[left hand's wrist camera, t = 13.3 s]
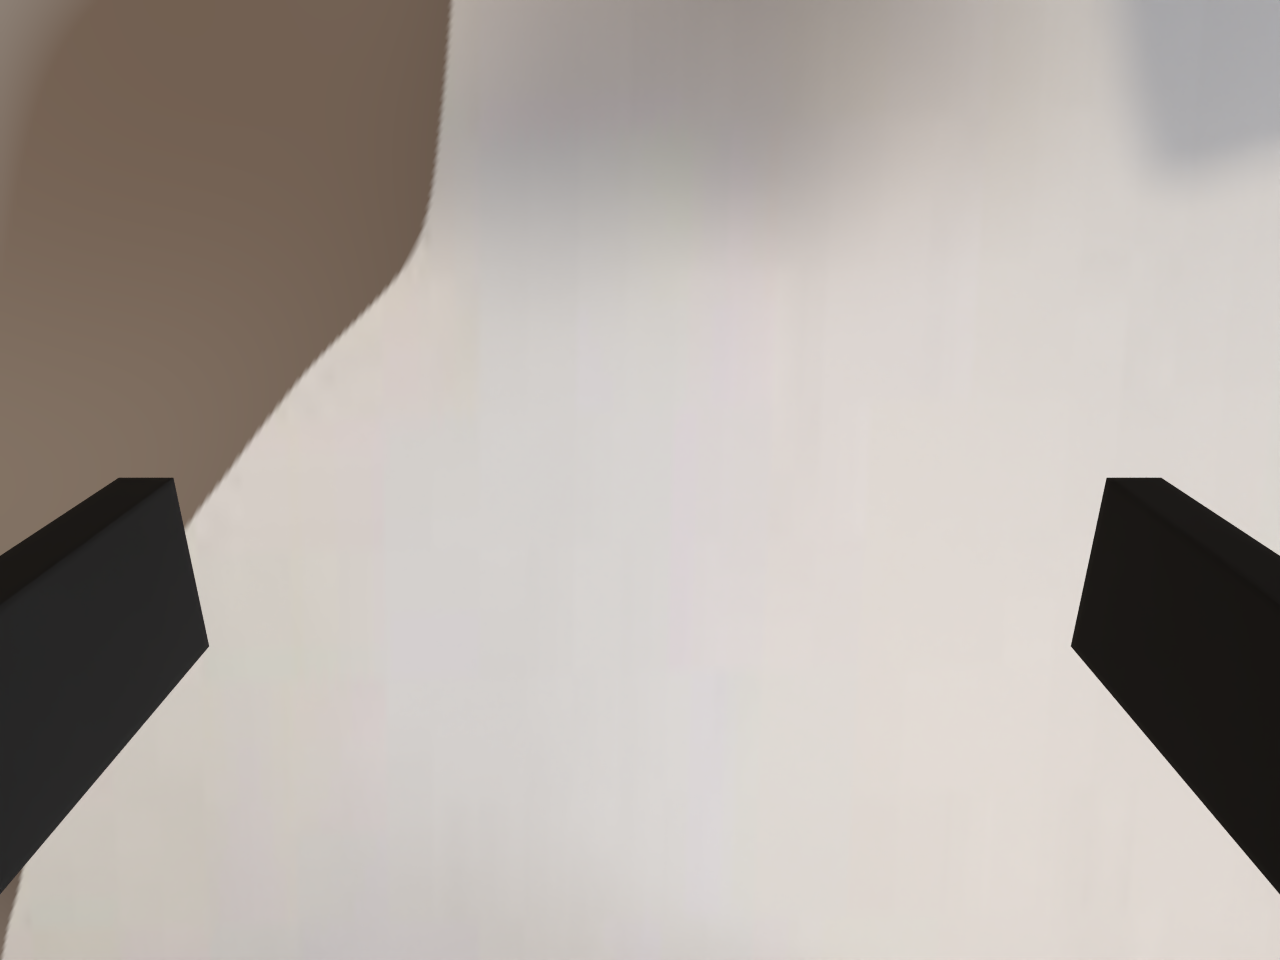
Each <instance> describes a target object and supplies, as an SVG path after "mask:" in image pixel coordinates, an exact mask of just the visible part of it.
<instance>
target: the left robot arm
mask: <svg viewBox="0 0 1280 960" xmlns="http://www.w3.org/2000/svg"><path fill="white" fill-rule="evenodd" d="M208 647H209V644H208V639H207V634H206V629H205V625H204V620H203V615H202V611H201V606H200V601H199V597H198V592H197V587H196V582H195V578H194V573H193V568H192V564H191V559H190V554H189V549H188V545H187V540H186V535H185V531H184V526H183V521H182V516H181V512H180V507H179V502H178V498H177V493H176V488H175V483H174V479H173V478H118V479H116V480H115V481H113V482H112V483H110V484H109V485H107V486H106V487H104V488H103V489H101V490H100V491H98V492H97V493H95V494H93V495H92V496H90V497H89V498H87V499H86V500H84V501H83V502H81V503H80V504H78V505H77V506H75V507H74V508H72V509H71V510H69V511H68V512H66V513H65V514H63V515H62V516H60V517H59V518H57V519H56V520H54V521H53V522H51V523H49V524H48V525H46V526H45V527H43V528H42V529H40V530H39V531H37V532H36V533H34V534H33V535H31V536H30V537H28V538H27V539H25V540H24V541H22V542H21V543H19V544H17V545H16V546H14V547H13V548H11V549H10V550H8V551H7V552H5V553H4V554H2V555H1V556H0V894H1V893H2V891H3V890H4V889H5V888H6V887H7V885H8V884H9V883H10V882H11V881H12V880H13V878H14V877H15V876H16V875H17V874H18V872H19V871H20V870H21V869H22V868H23V866H24V865H25V864H26V863H27V862H28V861H29V859H30V858H31V857H32V856H33V855H34V853H35V852H36V851H37V850H38V849H39V848H40V846H41V845H42V844H43V843H44V842H45V840H46V839H47V838H48V837H49V836H50V834H51V833H52V832H53V831H54V830H55V829H56V827H57V826H58V825H59V824H60V823H61V821H62V820H63V819H64V818H65V817H66V815H67V814H68V813H69V812H70V811H71V810H72V808H73V807H74V806H75V805H76V804H77V802H78V801H79V800H80V799H81V798H82V796H83V795H84V794H85V793H86V792H87V791H88V789H89V788H90V787H91V786H92V785H93V783H94V782H95V781H96V780H97V779H98V777H99V776H100V775H101V774H102V773H103V772H104V770H105V769H106V768H107V767H108V766H109V764H110V763H111V762H112V761H113V760H114V759H115V757H116V756H117V755H118V754H119V753H120V751H121V750H122V749H123V748H124V747H125V745H126V744H127V743H128V742H129V741H130V740H131V738H132V737H133V736H134V735H135V734H136V732H137V731H138V730H139V729H140V728H141V726H142V725H143V724H144V723H145V722H146V721H147V719H148V718H149V717H150V716H151V715H152V713H153V712H154V711H155V710H156V709H157V707H158V706H159V705H160V704H161V703H162V702H163V700H164V699H165V698H166V697H167V696H168V694H169V693H170V692H171V691H172V690H173V688H174V687H175V686H176V685H177V684H178V683H179V681H180V680H181V679H182V678H183V677H184V675H185V674H186V673H187V672H188V671H189V669H190V668H191V667H192V666H193V665H194V664H195V662H196V661H197V660H198V659H199V658H200V656H201V655H202V654H203V653H204V652H205V651H206V649H207V648H208ZM1071 647H1072V648H1073V649H1074V651H1075V652H1076V653H1077V654H1078V655H1079V656H1080V658H1081V659H1082V660H1083V661H1084V662H1085V664H1086V665H1087V666H1088V667H1089V668H1090V669H1091V671H1092V672H1093V673H1094V674H1095V675H1096V677H1097V678H1098V679H1099V680H1100V681H1101V683H1102V684H1103V685H1104V686H1105V687H1106V688H1107V690H1108V691H1109V692H1110V693H1111V694H1112V696H1113V697H1114V698H1115V699H1116V700H1117V702H1118V703H1119V704H1120V705H1121V706H1122V707H1123V709H1124V710H1125V711H1126V712H1127V713H1128V715H1129V716H1130V717H1131V718H1132V719H1133V721H1134V722H1135V723H1136V724H1137V725H1138V726H1139V728H1140V729H1141V730H1142V731H1143V732H1144V734H1145V735H1146V736H1147V737H1148V738H1149V740H1150V741H1151V742H1152V743H1153V744H1154V745H1155V747H1156V748H1157V749H1158V750H1159V751H1160V753H1161V754H1162V755H1163V756H1164V757H1165V759H1166V760H1167V761H1168V762H1169V763H1170V764H1171V766H1172V767H1173V768H1174V769H1175V770H1176V772H1177V773H1178V774H1179V775H1180V776H1181V777H1182V779H1183V780H1184V781H1185V782H1186V783H1187V785H1188V786H1189V787H1190V788H1191V789H1192V791H1193V792H1194V793H1195V794H1196V795H1197V796H1198V798H1199V799H1200V800H1201V801H1202V802H1203V804H1204V805H1205V806H1206V807H1207V808H1208V810H1209V811H1210V812H1211V813H1212V814H1213V815H1214V817H1215V818H1216V819H1217V820H1218V821H1219V823H1220V824H1221V825H1222V826H1223V827H1224V829H1225V830H1226V831H1227V832H1228V833H1229V834H1230V836H1231V837H1232V838H1233V839H1234V840H1235V842H1236V843H1237V844H1238V845H1239V846H1240V848H1241V849H1242V850H1243V851H1244V852H1245V853H1246V855H1247V856H1248V857H1249V858H1250V859H1251V861H1252V862H1253V863H1254V864H1255V865H1256V866H1257V868H1258V869H1259V870H1260V871H1261V872H1262V874H1263V875H1264V876H1265V877H1266V878H1267V880H1268V881H1269V882H1270V883H1271V884H1272V885H1273V887H1274V888H1275V889H1276V890H1277V891H1278V893H1279V894H1280V556H1279V555H1278V554H1276V553H1275V552H1273V551H1272V550H1270V549H1269V548H1267V547H1266V546H1264V545H1263V544H1261V543H1259V542H1258V541H1256V540H1255V539H1253V538H1252V537H1250V536H1249V535H1247V534H1246V533H1244V532H1243V531H1241V530H1240V529H1238V528H1237V527H1235V526H1234V525H1232V524H1231V523H1229V522H1228V521H1226V520H1225V519H1223V518H1221V517H1220V516H1218V515H1217V514H1215V513H1214V512H1212V511H1211V510H1209V509H1208V508H1206V507H1205V506H1203V505H1202V504H1200V503H1199V502H1197V501H1196V500H1194V499H1193V498H1191V497H1190V496H1188V495H1187V494H1185V493H1183V492H1182V491H1180V490H1179V489H1177V488H1176V487H1174V486H1173V485H1171V484H1170V483H1168V482H1167V481H1165V480H1164V479H1162V478H1107V479H1106V483H1105V488H1104V493H1103V498H1102V502H1101V507H1100V512H1099V516H1098V521H1097V526H1096V531H1095V535H1094V540H1093V545H1092V549H1091V554H1090V559H1089V564H1088V568H1087V573H1086V578H1085V582H1084V587H1083V592H1082V597H1081V601H1080V606H1079V611H1078V615H1077V620H1076V625H1075V629H1074V634H1073V639H1072V644H1071Z"/></svg>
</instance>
